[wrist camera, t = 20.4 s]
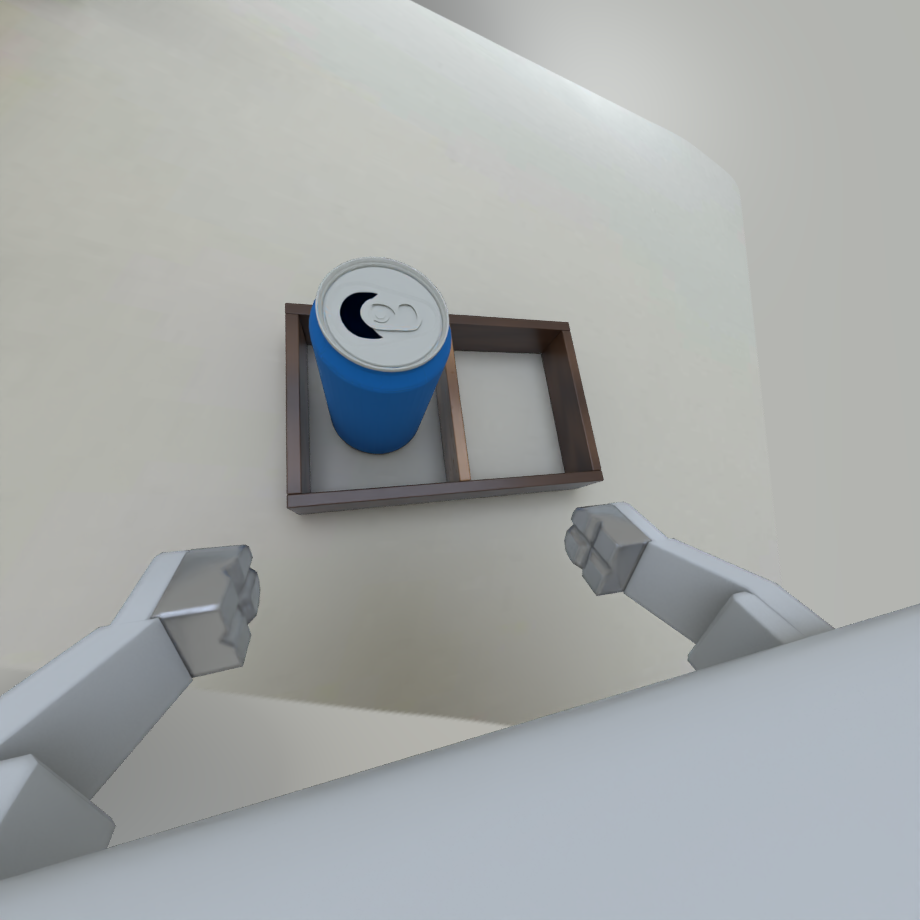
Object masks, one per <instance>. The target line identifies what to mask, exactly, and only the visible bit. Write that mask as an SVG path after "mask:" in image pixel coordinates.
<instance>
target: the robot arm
mask: <svg viewBox="0 0 920 920" xmlns="http://www.w3.org/2000/svg"><path fill="white" fill-rule="evenodd" d="M571 520H572V522H573V525H572V526H571V527H570V528H569V529H568V530H567V532H566V536H565V540H564V542H565V550H566V552H567V555H568V557H569V558H570V560H571V561H572V563H573V564H575V565H576V566H578V567H580V568H581V569H582V577H583V578H584V579H585V581H586V582H587V583H588V585H589V586H590V588H591V589H592V590H593V592H594V593H595V594H596V596H599V595H605V594H611V593H617V592H623V591H624V594H625V595H627V596H628V597H630V598H631V599H633V600H634V601H635V602H637V603H638V604H640V605H641V606H643V607H644V608H645V609H647V610H648V611H650V612H651V613H652V614H654V615H655V616H657V617H658V618H660V619H661V620H662V621H664V622H665V623H667V624H668V625H670V626H671V627H672V628H674V629H675V630H677V631H678V632H680V633H681V634H682V635H684V636H685V637H687V638H688V639H690V640H691V641H692V642H694V643H695V644H696V645H695V646H694V647H693V649H692V650H691V651H690V653H689V654H688V661H689V663H690V664H691V665H692V666H693V668H694V669H695V670H696V671H694V672H691V673H687V674H684V675H681V676H677V677H674V678H671V679H667V680H664V681H661V682H657V683H654V684H651V685H647V686H644V687H641V688H637V689H634V690H631V691H627V692H624V693H621V694H617V695H614V696H611V697H607V698H604V699H601V700H597V701H594V702H591V703H588V704H584V705H581V706H578V707H574V708H571V709H568V710H564V711H561V712H558V713H554V714H551V715H548V716H544V717H541V718H538V719H534V720H531V721H528V722H524V723H521V724H518V725H514V726H511V727H508V728H504V729H501V730H498V731H494V732H491V733H488V734H484V735H481V736H478V737H474V738H471V739H468V740H465V741H461V742H458V743H455V744H451V745H448V746H445V747H441V748H438V749H435V750H431V751H428V752H425V753H422V754H418V755H415V756H411V757H408V758H405V759H402V760H399V761H395V762H391V763H388V764H385V765H382V766H378V767H375V768H372V769H368V770H365V771H362V772H358V773H355V774H352V775H349V776H345V777H342V778H338V779H335V780H332V781H329V782H325V783H322V784H319V785H315V786H312V787H309V788H305V789H302V790H299V791H295V792H292V793H289V794H285V795H282V796H279V797H275V798H272V799H269V800H265V801H262V802H259V803H256V804H252V805H249V806H245V807H242V808H239V809H236V810H232V811H229V812H226V813H222V814H219V815H216V816H212V817H209V818H206V819H202V820H199V821H196V822H192V823H189V824H186V825H183V826H179V827H176V828H173V829H170V830H166V831H163V832H159V833H156V834H153V835H149V836H146V837H143V838H139V839H136V840H133V841H129V842H126V843H123V844H119V845H116V846H113V847H110V848H107V847H108V844H109V842H110V839H111V837H112V834H113V832H114V829H115V826H116V825H115V823H114V822H113V820H112V818H111V817H110V816H108V815H107V814H106V813H105V812H104V811H102V810H101V809H100V808H99V807H97V806H96V805H95V804H94V803H92V802H91V801H90V800H91V799H92V798H93V796H94V795H95V794H96V793H97V792H98V791H99V789H100V788H101V787H102V786H103V785H104V784H105V783H106V781H107V780H108V779H109V778H110V777H111V776H112V774H113V773H114V772H115V771H116V770H117V768H118V767H119V766H120V765H121V764H122V763H123V761H124V760H125V759H126V758H127V757H128V755H129V754H130V753H131V752H132V751H133V750H134V749H135V747H136V746H137V745H138V744H139V743H140V742H141V740H142V739H143V738H144V737H145V736H146V734H147V733H148V732H149V731H150V730H151V729H152V728H153V726H154V725H155V724H156V723H157V722H158V720H159V719H160V718H161V717H162V715H164V713H165V712H166V711H167V710H168V709H169V708H170V706H171V705H172V704H173V703H174V702H175V701H176V699H177V698H178V697H179V696H180V695H181V694H182V692H183V691H184V690H185V689H186V688H187V687H188V685H189V684H190V683H191V682H192V681H193V679H192V678H193V677H198V676H202V675H207V674H211V673H216V672H220V671H225V670H229V669H233V668H238V667H242V666H243V664H244V661H245V657H246V653H247V649H248V646H249V642H250V638H251V633H250V630H249V627H248V624H249V623H250V622H251V621H252V620H253V619H254V618H255V617H256V615H257V611H258V607H259V600H260V583H259V577H258V574H257V572H256V571H255V570H253V569H251V568H250V565H251V561H252V558H253V557H252V554H251V551H250V548H249V546H247V545H234V546H223V547H212V548H201V549H191V550H184V551H173V552H162V553H160V554H159V555H157V556H156V557H155V558H154V559H153V560H152V562H151V563H150V565H149V566H148V568H147V569H146V571H145V572H144V574H143V575H142V577H141V578H140V580H139V581H138V583H137V584H136V586H135V588H134V589H133V591H132V592H131V594H130V595H129V597H128V598H127V600H126V601H125V603H124V604H123V606H122V607H121V609H120V610H119V612H118V614H117V615H116V617H115V618H114V620H113V621H112V623H111V624H110V625H108V626H103V627H99V628H97V629H96V630H94V631H93V632H91V633H90V634H89V635H87V636H86V637H84V638H83V639H81V640H80V641H79V642H77V643H76V644H74V645H73V646H71V647H70V648H69V649H67V650H66V651H64V652H63V653H61V654H60V655H59V656H57V657H56V658H54V659H53V660H51V661H50V662H49V663H47V664H46V665H44V666H43V667H41V668H40V669H39V670H37V671H36V672H34V673H33V674H31V675H30V676H29V677H27V678H26V679H24V680H23V681H21V682H20V683H19V684H17V685H16V686H14V687H13V688H11V689H10V690H9V691H7V692H6V693H5V694H3V695H1V696H0V920H920V604H917V605H914V606H910V607H907V608H904V609H900V610H897V611H893V612H890V613H887V614H883V615H880V616H877V617H874V618H870V619H867V620H864V621H860V622H857V623H854V624H850V625H847V626H844V627H840V628H837V629H835V628H833V627H832V626H831V625H830V624H828V623H827V622H826V621H824V620H823V619H822V618H820V617H819V616H818V615H817V614H815V613H814V612H813V611H812V610H810V609H809V608H808V607H806V606H805V605H803V604H802V603H801V602H800V601H799V600H797V599H796V598H795V597H793V596H792V595H791V594H789V593H788V592H787V591H786V590H784V589H783V588H782V587H780V586H779V585H778V584H777V583H775V582H772V581H770V580H768V579H765V578H763V577H761V576H759V575H756V574H754V573H752V572H749V571H747V570H745V569H743V568H740V567H738V566H736V565H733V564H731V563H729V562H727V561H724V560H722V559H720V558H717V557H715V556H713V555H711V554H708V553H706V552H704V551H701V550H699V549H697V548H694V547H692V546H690V545H688V544H685V543H683V542H681V541H678V540H676V539H674V538H672V539H668V538H667V537H666V536H665V535H664V534H663V533H662V532H661V531H659V530H658V529H657V528H656V527H655V526H654V525H653V524H651V523H650V522H649V521H648V520H647V519H646V518H645V517H644V516H642V515H641V514H640V513H639V512H638V511H637V510H636V509H634V508H633V507H632V506H631V505H630V504H628V503H626V502H616V503H609V504H603V505H594V506H586V507H578V508H576V509H575V510H574V512H573V514H572V517H571Z"/></svg>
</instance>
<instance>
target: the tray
mask: <svg viewBox="0 0 920 920" xmlns="http://www.w3.org/2000/svg"><path fill="white" fill-rule="evenodd" d="M311 308H312V305H307V304H293V303H285V314H286V315H285V332H286V463H287V508H288V509H290V510H292V511H293V512H295V513H297V514H299V515H301V514H312V513H322V512H333V511H344V510H354V509H365V508H376V507H386V506H397V505H408V504H418V503H429V502H440V501H450V500H461V499H472V498H482V497H493V496H504V495H514V494H525V493H536V492H546V491H557V490H568V489H577V488H580V487H583V486H587V485H590V484H593V483H597V482H600V481H603V480H604V479H603V475H602V471H601V466H600V461H599V457H598V452H597V448H596V444H595V439H594V435H593V430H592V426H591V422H590V417H589V413H588V408H587V404H586V399H585V395H584V391H583V386H582V382H581V377H580V373H579V368H578V364H577V360H576V355H575V351H574V346H573V342H572V338H571V333H570V328H569V323H568V322H555V321H541V320H526V319H512V318H497V317H482V316H468V315H453V314H449V325H450V330H451V349H450V354H449V357H448V360H447V362H446V365H445V367H444V369H443V372H442V374H441V376H440V378H439V381H438V383H437V385H436V393H437V401H438V410H439V418H440V427H441V435H442V444H443V452H444V461H445V469H446V478H447V482H445V483H432V484H419V485H406V486H393V487H380V488H367V489H355V490H342V491H329V492H316V493H311V489H310V448H309V406H308V364H307V345H312V342H311V338H310V332H309V317H310V312H311ZM454 350H461V351H488V352H515V353H542V359H543V364H544V369H545V374H546V379H547V384H548V389H549V394H550V399H551V404H552V409H553V414H554V419H555V424H556V429H557V434H558V439H559V444H560V449H561V454H562V459H563V464H564V468H565V473H561V474H548V475H535V476H522V477H509V478H496V479H483V480H471V476H470V469H469V461H468V454H467V446H466V439H465V431H464V424H463V417H462V409H461V402H460V394H459V387H458V379H457V372H456V365H455V357H454Z"/></svg>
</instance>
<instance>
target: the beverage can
mask: <svg viewBox="0 0 920 920" xmlns="http://www.w3.org/2000/svg"><path fill="white" fill-rule="evenodd" d="M309 332H310V338H311V342H312V346H313V350H314V354H315V358H316V361H317V365H318V369H319V373H320V377H321V381H322V385H323V389H324V393H325V397H326V401H327V405H328V409H329V413H330V416H331V420H332V424H333V426H334V428H335V430H336V432H337V433H338V435H339V436H340V437H341V438H342V439H343V440H344V441H345V442H346V443H347V444H349V445H350V446H352V447H353V448H355V449H357V450H360V451H363V452H367V453H373V454H382V453H389V452H392V451H395V450H397V449H399V448H401V447H403V446H404V445H406V444H407V443H408V442H409V441H410V440H411V439H412V438H413V436H414V435H415V433H416V432H417V430H418V427H419V425H420V423H421V420H422V418H423V416H424V413H425V411H426V409H427V406H428V404H429V402H430V399H431V397H432V395H433V392H434V390H435V388H436V385H437V383H438V381H439V378H440V376H441V374H442V372H443V369H444V367H445V365H446V362H447V360H448V357H449V354H450V349H451V330H450V325H449V314H448V310H447V306H446V303H445V301H444V299H443V297H442V295H441V293H440V292H439V290H438V289H437V288H436V286H435V285H434V284H433V283H432V282H431V281H430V280H429V279H428V278H427V277H426V276H425V275H423V274H422V273H420V272H419V271H418V270H416V269H414V268H413V267H411V266H409V265H406V264H404V263H402V262H399V261H396V260H392V259H388V258H381V257H363V258H357V259H353V260H350V261H347V262H345V263H343V264H340V265H339V266H337V267H336V268H334V269H333V270H332V271H331V272H329V273H328V274H327V276H326V277H325V278H324V279H323V281H322V282H321V284H320V286H319V288H318V291H317V295H316V299H315V301H314V303H313V305H312V308H311V312H310V317H309Z"/></svg>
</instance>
